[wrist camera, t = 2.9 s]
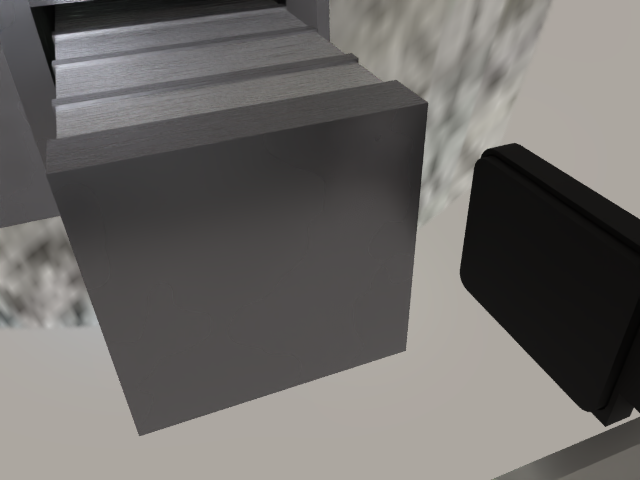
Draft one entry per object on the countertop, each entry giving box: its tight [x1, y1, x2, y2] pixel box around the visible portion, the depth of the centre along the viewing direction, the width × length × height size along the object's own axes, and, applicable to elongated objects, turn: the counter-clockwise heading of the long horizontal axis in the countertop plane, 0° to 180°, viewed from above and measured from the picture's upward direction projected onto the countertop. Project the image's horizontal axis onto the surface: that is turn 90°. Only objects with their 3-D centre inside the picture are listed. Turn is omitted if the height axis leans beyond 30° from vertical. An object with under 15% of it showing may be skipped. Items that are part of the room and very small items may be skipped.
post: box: [46, 0, 428, 436], centre depth 15 cm, size 5×5×17 cm
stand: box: [0, 0, 330, 228], centre depth 19 cm, size 16×16×12 cm
